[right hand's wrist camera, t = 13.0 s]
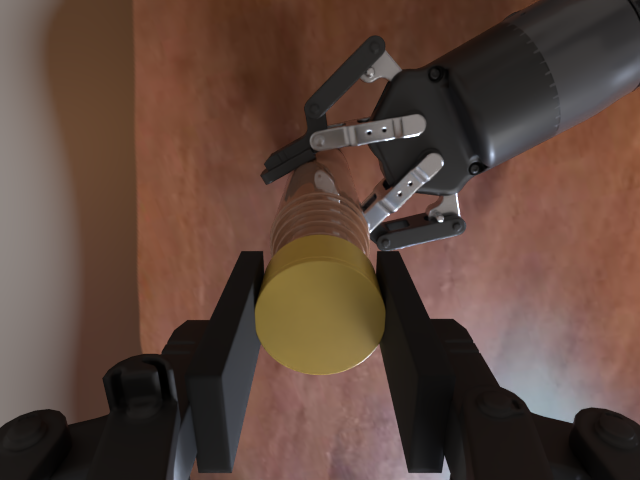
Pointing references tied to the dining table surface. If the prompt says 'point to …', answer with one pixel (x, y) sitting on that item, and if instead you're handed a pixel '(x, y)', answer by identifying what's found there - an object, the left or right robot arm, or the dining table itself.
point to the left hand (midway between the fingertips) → (286, 211)
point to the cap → (320, 306)
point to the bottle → (320, 204)
